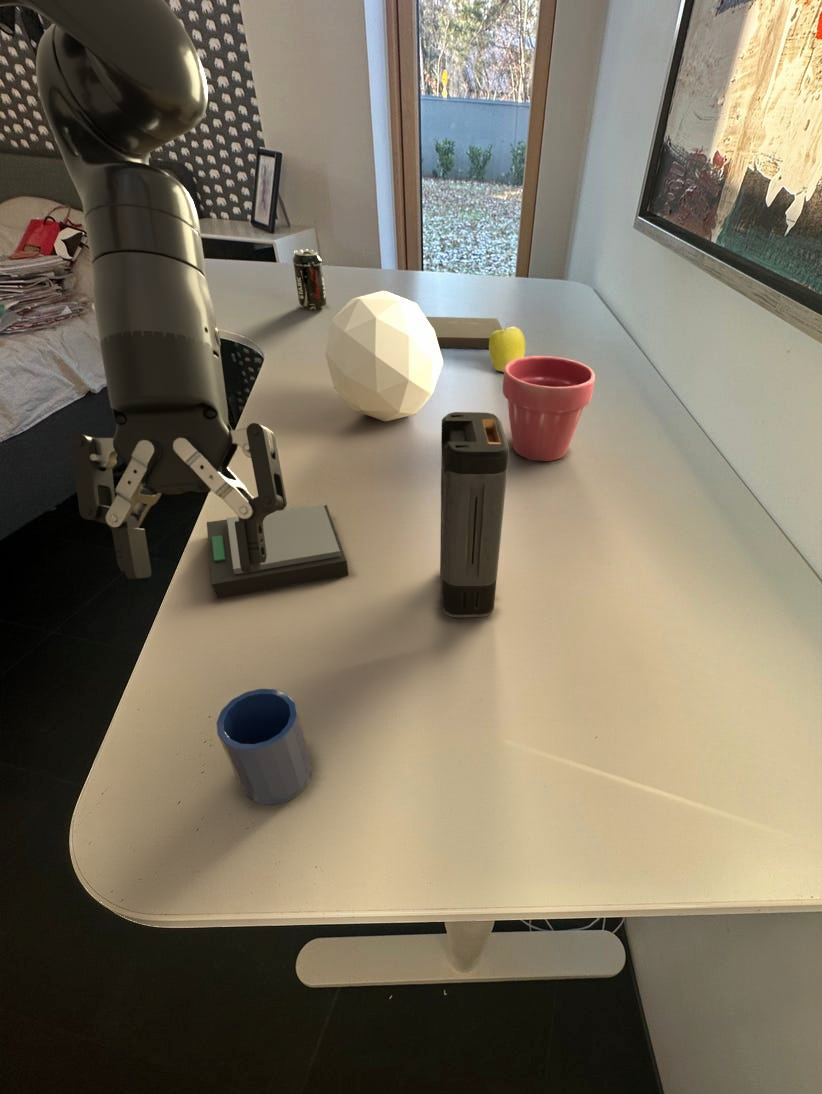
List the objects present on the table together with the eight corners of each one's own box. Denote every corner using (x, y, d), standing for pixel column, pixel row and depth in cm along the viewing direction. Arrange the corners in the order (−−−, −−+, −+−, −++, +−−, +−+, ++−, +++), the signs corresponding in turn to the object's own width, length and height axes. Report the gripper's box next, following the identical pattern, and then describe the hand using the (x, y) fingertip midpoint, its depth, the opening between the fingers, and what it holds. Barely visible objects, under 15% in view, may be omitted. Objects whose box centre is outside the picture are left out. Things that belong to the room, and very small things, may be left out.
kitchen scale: (217, 599, 64) (209, 578, 62) (211, 536, 73) (204, 516, 71) (348, 575, 69) (345, 555, 67) (328, 518, 77) (325, 499, 75)
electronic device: (439, 569, 70) (440, 409, 56) (486, 568, 71) (499, 410, 57) (443, 620, 64) (445, 453, 50) (495, 618, 65) (512, 454, 51)
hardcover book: (404, 326, 139) (404, 316, 137) (496, 328, 142) (497, 318, 140) (406, 348, 128) (406, 337, 126) (506, 350, 131) (507, 339, 129)
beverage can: (305, 312, 143) (297, 255, 134) (295, 305, 147) (287, 249, 138) (331, 309, 146) (324, 254, 137) (320, 302, 150) (314, 248, 141)
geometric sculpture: (362, 446, 107) (299, 342, 100) (450, 394, 109) (395, 289, 102) (372, 438, 90) (297, 311, 83) (477, 376, 92) (413, 247, 85)
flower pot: (512, 424, 102) (520, 348, 93) (588, 440, 99) (603, 363, 90) (486, 458, 92) (491, 377, 83) (569, 476, 89) (584, 394, 80)
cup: (245, 814, 46) (218, 758, 40) (239, 756, 50) (214, 699, 44) (317, 792, 48) (301, 737, 42) (306, 739, 52) (290, 681, 46)
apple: (535, 368, 120) (527, 319, 112) (501, 383, 119) (491, 335, 112) (520, 356, 125) (511, 308, 118) (487, 370, 125) (477, 323, 117)
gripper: (20, 333, 36) (67, 584, 39) (240, 319, 36) (271, 571, 39) (97, 368, 44) (132, 578, 47) (280, 357, 44) (304, 567, 47)
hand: (195, 574), depth 43 cm, fingers open, 8 cm apart
